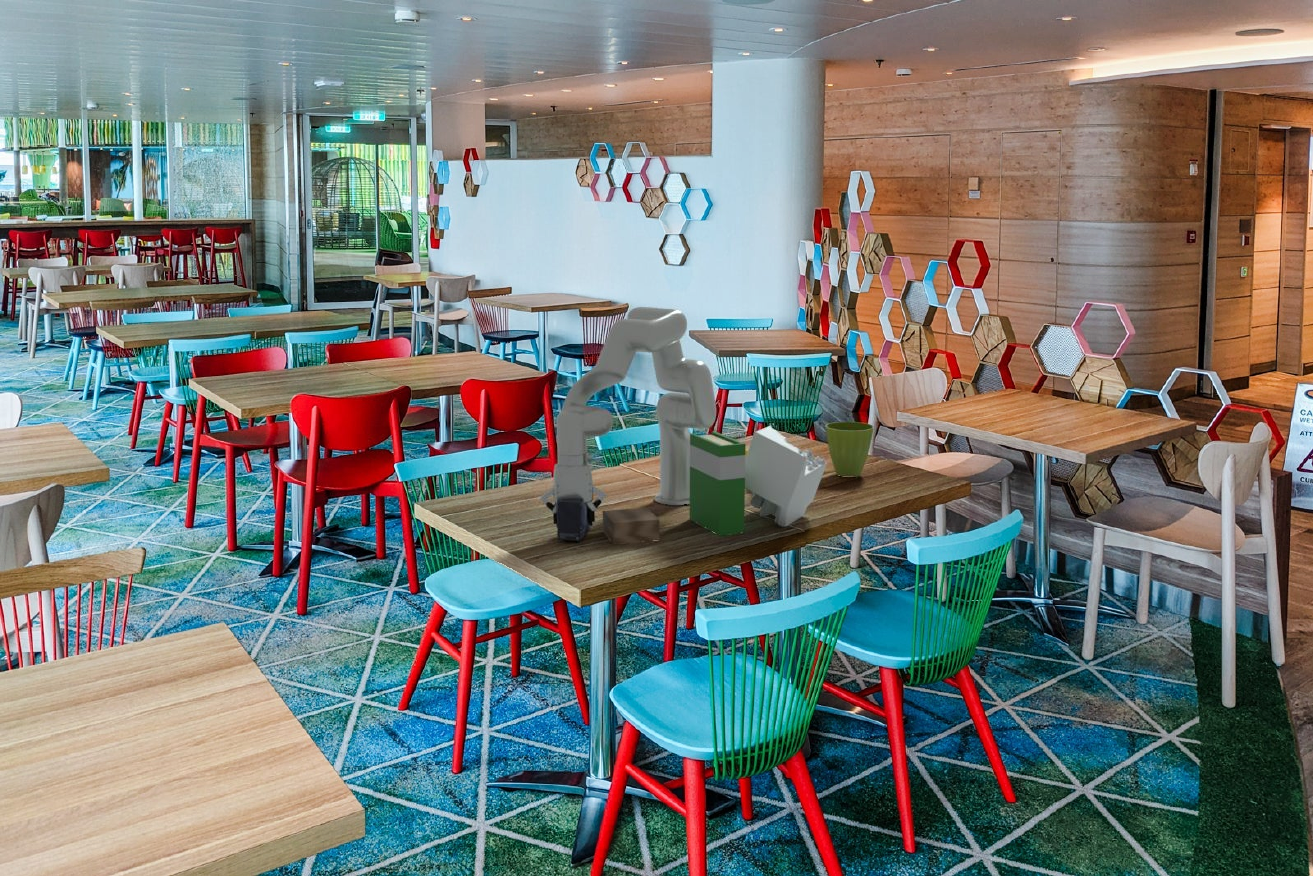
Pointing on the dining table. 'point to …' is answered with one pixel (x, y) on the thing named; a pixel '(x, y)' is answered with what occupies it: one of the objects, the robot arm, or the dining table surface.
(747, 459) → the white toy brick
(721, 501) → the hardback book
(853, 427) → the flower pot
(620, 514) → the walnut block
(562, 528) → the small box
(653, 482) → the dining table surface
